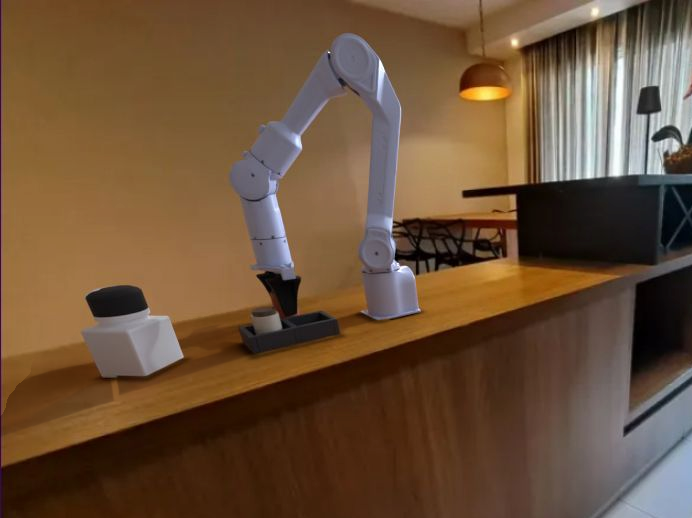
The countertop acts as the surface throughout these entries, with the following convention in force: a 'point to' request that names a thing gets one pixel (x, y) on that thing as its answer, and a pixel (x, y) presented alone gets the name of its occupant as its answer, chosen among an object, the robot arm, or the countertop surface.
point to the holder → (291, 332)
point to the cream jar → (265, 320)
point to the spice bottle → (277, 306)
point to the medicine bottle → (128, 333)
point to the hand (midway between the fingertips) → (287, 312)
